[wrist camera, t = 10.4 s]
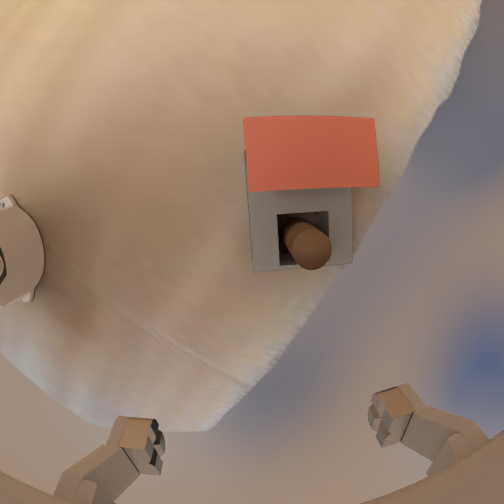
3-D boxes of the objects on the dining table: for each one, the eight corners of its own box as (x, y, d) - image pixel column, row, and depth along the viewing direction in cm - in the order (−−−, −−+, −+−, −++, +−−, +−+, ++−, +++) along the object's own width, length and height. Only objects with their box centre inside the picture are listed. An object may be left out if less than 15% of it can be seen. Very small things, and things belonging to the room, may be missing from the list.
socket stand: (252, 260, 38) (257, 296, 26) (243, 137, 34) (243, 117, 22) (339, 252, 38) (377, 283, 27) (334, 135, 34) (374, 118, 22)
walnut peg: (278, 217, 37) (291, 231, 27) (309, 215, 37) (331, 228, 27) (280, 247, 38) (293, 271, 28) (310, 245, 38) (332, 267, 28)
